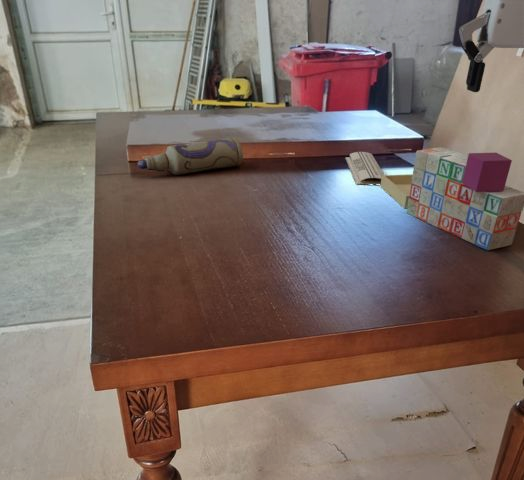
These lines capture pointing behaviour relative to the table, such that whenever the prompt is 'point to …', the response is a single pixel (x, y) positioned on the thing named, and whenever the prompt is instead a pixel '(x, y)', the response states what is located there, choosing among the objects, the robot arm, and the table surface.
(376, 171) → the newspaper
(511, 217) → the stack of blocks
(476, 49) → the robot arm
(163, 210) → the table surface
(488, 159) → the mulberry block
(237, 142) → the decorative bottle
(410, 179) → the tray
